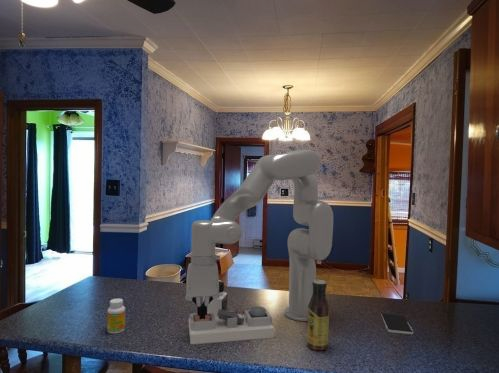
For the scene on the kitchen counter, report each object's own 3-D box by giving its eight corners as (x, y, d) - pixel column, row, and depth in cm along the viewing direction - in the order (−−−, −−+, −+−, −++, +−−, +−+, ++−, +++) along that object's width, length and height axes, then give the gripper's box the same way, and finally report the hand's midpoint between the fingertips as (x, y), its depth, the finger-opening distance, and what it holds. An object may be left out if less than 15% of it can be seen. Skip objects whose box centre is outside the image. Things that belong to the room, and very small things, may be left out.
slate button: (263, 313, 120) (263, 306, 120) (267, 319, 115) (267, 311, 115) (248, 314, 119) (248, 306, 119) (252, 320, 114) (252, 312, 114)
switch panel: (264, 322, 124) (265, 305, 123) (274, 337, 112) (274, 319, 112) (188, 327, 118) (188, 310, 118) (190, 344, 106) (190, 325, 106)
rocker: (240, 319, 118) (241, 314, 118) (242, 324, 114) (244, 319, 114) (217, 313, 116) (218, 308, 116) (218, 318, 112) (220, 313, 112)
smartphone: (403, 315, 131) (414, 332, 116) (403, 318, 131) (414, 335, 116) (380, 312, 132) (388, 329, 118) (380, 316, 132) (387, 333, 118)
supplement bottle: (108, 335, 112) (108, 304, 111) (106, 328, 116) (106, 299, 116) (126, 332, 114) (126, 302, 114) (123, 325, 119) (123, 296, 118)
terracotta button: (209, 321, 116) (209, 313, 116) (211, 327, 111) (211, 319, 111) (194, 322, 115) (194, 314, 115) (194, 329, 110) (195, 321, 110)
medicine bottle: (221, 318, 126) (222, 285, 125) (202, 316, 127) (203, 283, 127) (227, 311, 133) (227, 279, 132) (208, 309, 134) (209, 277, 134)
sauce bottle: (305, 341, 110) (307, 277, 109) (325, 342, 110) (327, 277, 109) (308, 351, 103) (309, 283, 103) (329, 352, 103) (331, 284, 102)
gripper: (224, 256, 118) (223, 311, 118) (178, 257, 114) (177, 314, 115) (228, 262, 110) (227, 320, 111) (179, 263, 107) (178, 324, 108)
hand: (202, 317), depth 113 cm, fingers closed
